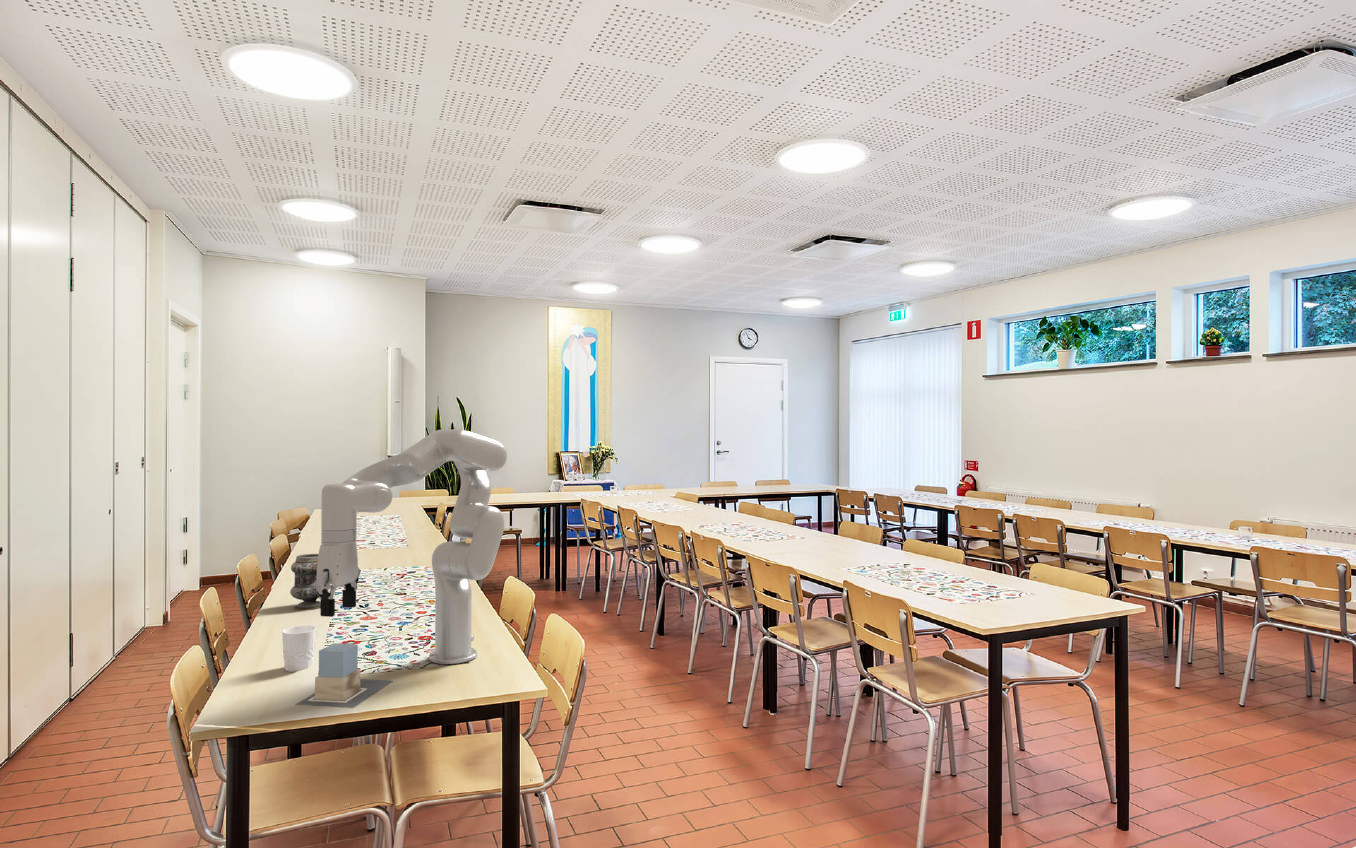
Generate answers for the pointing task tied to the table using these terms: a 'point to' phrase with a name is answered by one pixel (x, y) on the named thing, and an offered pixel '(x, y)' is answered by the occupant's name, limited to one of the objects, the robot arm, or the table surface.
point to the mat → (365, 692)
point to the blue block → (338, 660)
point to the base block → (337, 687)
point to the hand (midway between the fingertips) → (338, 611)
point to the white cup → (298, 647)
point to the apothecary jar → (305, 581)
